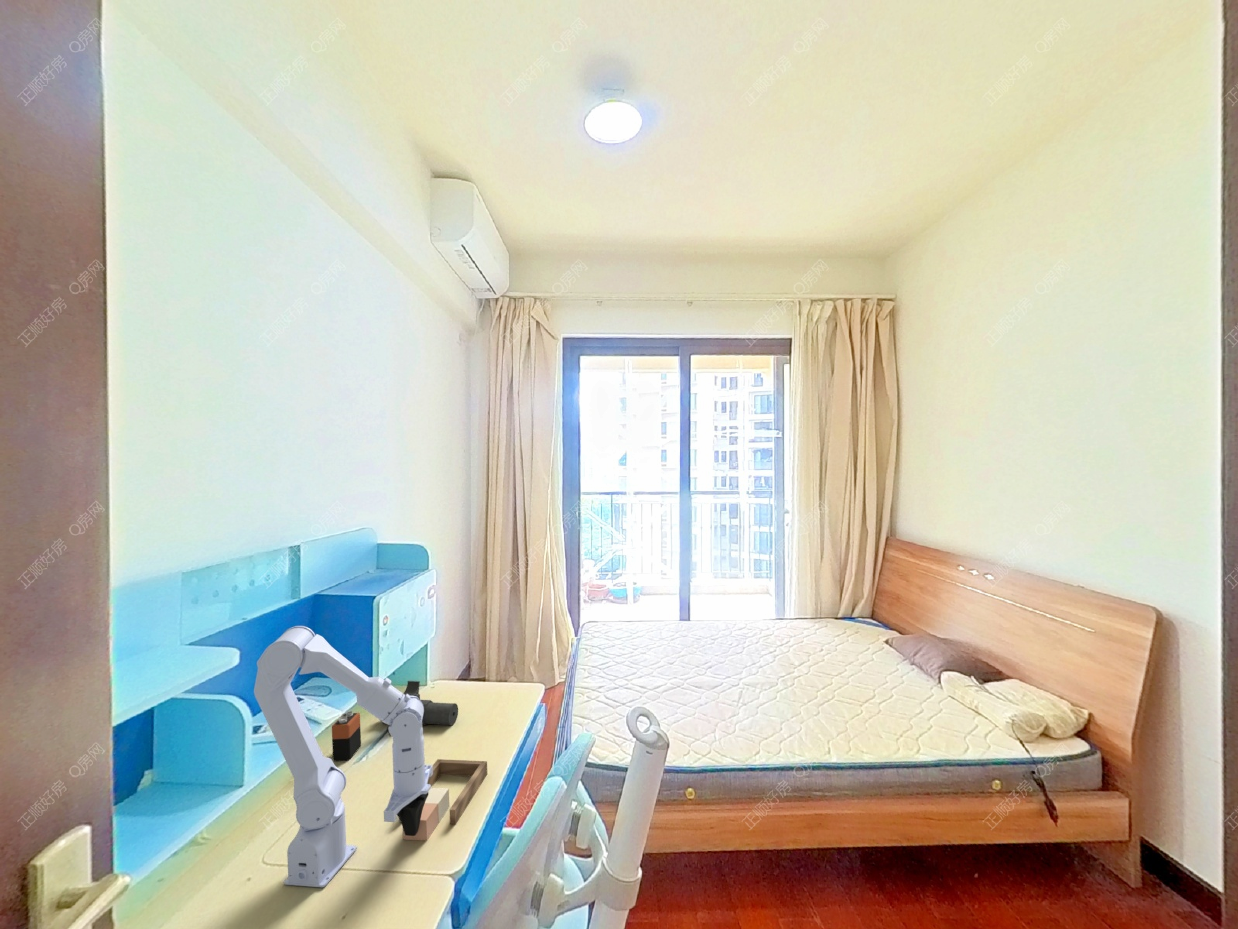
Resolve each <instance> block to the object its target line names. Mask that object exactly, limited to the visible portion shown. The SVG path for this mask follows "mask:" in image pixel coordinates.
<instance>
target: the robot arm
mask: <svg viewBox="0 0 1238 929" xmlns="http://www.w3.org/2000/svg"><path fill="white" fill-rule="evenodd" d="M256 666H257V672H256V677H255V683H254V688H253V694H254V697H255V700H256V701H257V703H258V705H259V708H260V709H261V710H260V711H262V712H261V713H262V714H263V716H264V718H265V720H266V722H267V725H268V726H269V729H270V731H271V733H272V735H273V737H274V738H275V742H276V743H277V745H278V748H279V750H280V752H281V754H282V756H283V758H284V760H285V762H286V765H287V767H288V768H289V771H290V773H291V775H292V777H293V800H294V803H295V805H296V811H295V817H296V821H297V823H298V825H299V828H298V831H297V833H296V835H295V836H294V837H293V839H292V841H291V842H290V843H289V845H288V846H287V850H286V852H287V853H286V855H287V856H286V857H287V876H288V877H287V878H285V880H284V881H283V883H284V885H286V886H297V887H298V886H300V887H312V888H313V887H314V888H325V887H326V886H327V884H328V883H329V882H330V881H331V880H332V879H333V878H334V877H335V876H336V875H337V873H338V872H339V871H340V870H341V869H342V867H343V866H344V864H346V863H347V861H348V860H349V859H350V858H351V856H352V855H353V854H354V853H355V851H356V850H357V849H358V848H357V847H358V846H357V845H352V844H351V845H350V844H347V834H346V833H347V832H346V828H347V827H346V811H345V810H346V806H345V803H344V802H343V799H342V797H341V795H342V793H343V792H344V790H345V788H346V786H347V776H346V774H345V772H344V771H343V770H342V769H340V768H339V767H337V766H336V765H335V763H334V760H333V758H330V757H326V756H324V754H323V752H322V749H321V748H320V745H319V744H318V741H317V739H316V736H315V735H314V732H313V731H312V730H313V729H312V728H311V726H310V724H309V722H308V720H307V718H306V716H305V714H304V711H303V708H302V706H301V704H300V702H299V700H298V697H297V696H296V693H295V692H294V690H293V687H292V685H291V683H292V681H293V680H294V678H295V675H296V674H297V672H298V670H299V668H300V671H299V673H298V675H306V674H308V675H309V674H312V673H321V674H323V675H325V676H326V677H328V678H330V679H331V680H333V681H334V682H336V683H338V684H339V685H341V686H342V687H344V688H346V689H347V690H349V691H350V692H352V693H353V694H355V695H356V703H357V705H358V706H360V707H361V708H363V709H364V710H366V711H367V712H368V713H369V714H371V715H372V716H374V717H375V718H377V720H379V721H380V720H381V721H382V723H384V724H386V725H388V732H389V734H390V736H391V737H392V743H391V744H392V745H391V747H392V751H391V752H392V770H393V771H392V774H393V778H392V779H393V789H392V792H391V794H390V797H389V800H388V803H387V806H386V807H385V809H384V810H383V822H384V823H386V822H387V823H395V822H396V820H397V817H398V820H399V819H400V821H399V822H400V824H401V827H402V831H403V830H404V833H405V835H407V836H415V835H416V834H417V832H418V829H419V824H420V819H421V814H422V810H423V807H424V804H425V801H426V799H427V797H428V792H429V790H430V789H431V788H432V787H431V785H430V784H427V783H428V779H429V777H431V776H432V775H433V764H426V762H425V761H426V760H425V741H424V740H425V738H424V728H423V725H422V719H423V714H424V706H423V704H422V702H421V701H420V700H421V699H420V700H419V698H418V697H416V696H410V695H408V694H406V695H404V694H403V693H404V692H402V691H400V690H399V689H398V688H396V687H394V686H393V684H392V680H391V679H390V678H389V677H386V678H385V679H383V677H381V676H373V677H372V676H371V677H369V676H368V675H367V674H365V673H364V672H363V671H362V670H360V669H359V668H358V666H356V665H355V664H353V663H352V662H351V661H350V660H348V659H347V658H346V657H345V656H343V654H341V653H340V652H338V651H337V650H336V649H335V648H334V647H333V646H332V645H331V644H330V643H329V642H328V641H327V640H326V639H325V638H324V637H323V636H322V635H320V634H317V633H315V632H314V631H313V630H312V629H311V628H309V627H307V626H305V625H295V626H293V627H290V628H287V629H286V630H285V631H284V632H283V634H281V636H280V637H278V638H277V639H276V640H275V641H274V642H273V643H271V644H269V645H268V646H267V647H266V648H265V649H264V651H263V653H261V655H260V657H259V659H258V660H257V662H256ZM381 721H380V722H381Z"/></svg>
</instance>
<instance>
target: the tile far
mask: <svg viewBox="0 0 1238 929" xmlns="http://www.w3.org/2000/svg"><path fill="white" fill-rule="evenodd" d="M425 803H437V804H438V820H439V823H440V822H441V820H442V819H443V818H444V816H445V815H446V813H447V812H448V811H449V809H450V788H447V787H444V788H443V787H431V789H430V790H429V792H428V797H427V799H426V801H425Z"/></svg>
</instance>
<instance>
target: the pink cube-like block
mask: <svg viewBox="0 0 1238 929" xmlns="http://www.w3.org/2000/svg"><path fill="white" fill-rule="evenodd" d="M439 823H440V822H439V820H438V804H437V803H425V804H424V807H423V810H422V814H421V819H420V824H419V829H418V832H417V834H416V835H415V836H407V835H405V833H404V830H403V829H402V839H403V840H409V841H428V840H429V838H430V837H431V835H432V834H433V832H434V831H435V829H437V826H438V825H439Z"/></svg>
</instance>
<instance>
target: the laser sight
mask: <svg viewBox="0 0 1238 929" xmlns="http://www.w3.org/2000/svg"><path fill="white" fill-rule="evenodd" d="M406 682H407V685H406V689H405V690H404V691H403V692H402V693H403V694H404V695H406V694H408V695H410V696H416V697H418V698H419V700H420V701H421V702H422V704H423V706H424V714H423V719H422V726H428V725H444V726H454V724H455V723H456V721H457V719H458V716H459V706H458V704H457V703H456V702H455V703H449V702H434V701H432V699H421V696H420V695H421V694H420V686H421V684H420V683H421V681H420V680H407V681H406ZM379 721H380V722H382V721H381V720H379ZM382 723H383V722H382Z"/></svg>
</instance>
